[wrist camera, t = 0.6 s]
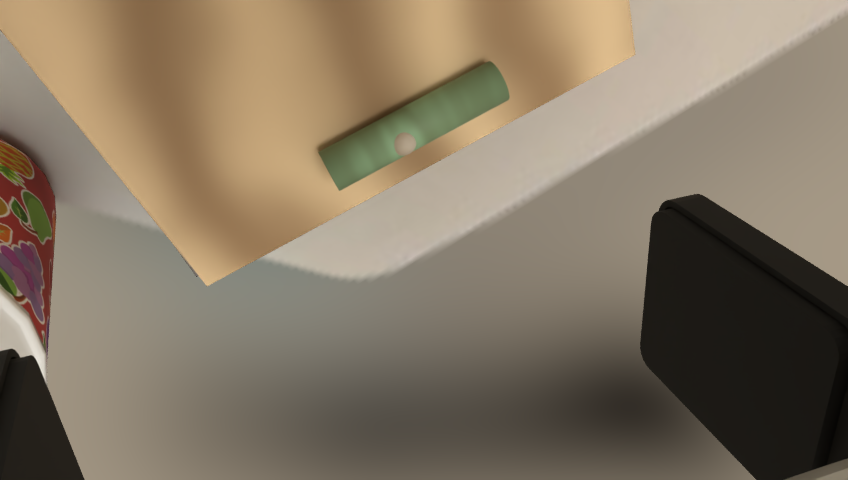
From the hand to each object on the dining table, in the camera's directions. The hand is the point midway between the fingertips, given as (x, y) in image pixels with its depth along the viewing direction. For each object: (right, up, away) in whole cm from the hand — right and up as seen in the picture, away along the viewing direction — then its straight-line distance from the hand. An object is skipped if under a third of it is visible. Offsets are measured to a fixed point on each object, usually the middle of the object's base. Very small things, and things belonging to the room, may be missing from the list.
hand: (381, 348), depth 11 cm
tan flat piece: (-2, +11, +18) cm, 21 cm away
